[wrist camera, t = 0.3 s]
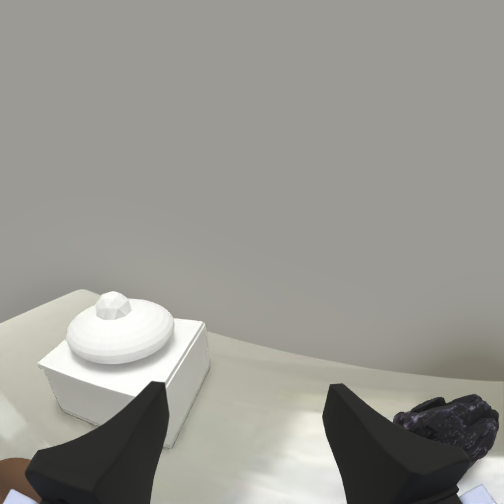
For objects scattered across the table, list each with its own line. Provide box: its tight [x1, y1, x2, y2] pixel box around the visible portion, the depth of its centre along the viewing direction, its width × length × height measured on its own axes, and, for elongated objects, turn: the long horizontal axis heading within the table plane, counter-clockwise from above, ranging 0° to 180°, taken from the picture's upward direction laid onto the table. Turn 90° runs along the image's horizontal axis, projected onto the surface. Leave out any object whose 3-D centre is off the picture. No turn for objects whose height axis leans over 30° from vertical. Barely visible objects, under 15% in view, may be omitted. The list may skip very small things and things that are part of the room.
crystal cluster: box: [393, 394, 499, 469], centre depth 24 cm, size 13×14×10 cm
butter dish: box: [38, 291, 210, 449], centre depth 36 cm, size 18×18×16 cm
